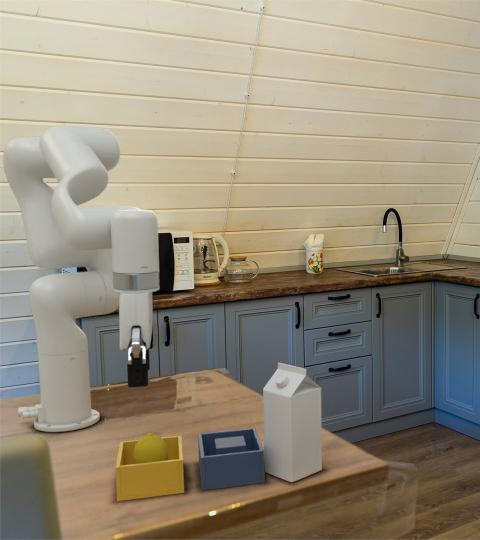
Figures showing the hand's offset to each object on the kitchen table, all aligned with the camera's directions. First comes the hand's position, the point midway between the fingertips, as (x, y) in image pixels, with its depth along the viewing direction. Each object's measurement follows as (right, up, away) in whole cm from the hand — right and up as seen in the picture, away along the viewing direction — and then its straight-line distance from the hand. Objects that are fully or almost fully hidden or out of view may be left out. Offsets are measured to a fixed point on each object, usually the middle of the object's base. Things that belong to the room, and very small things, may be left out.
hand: (139, 378), depth 127 cm
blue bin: (+16, -16, 0) cm, 23 cm away
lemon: (+4, -17, -4) cm, 17 cm away
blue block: (+16, -16, 0) cm, 23 cm away
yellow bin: (+4, -17, -4) cm, 18 cm away
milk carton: (+27, -17, 0) cm, 32 cm away
